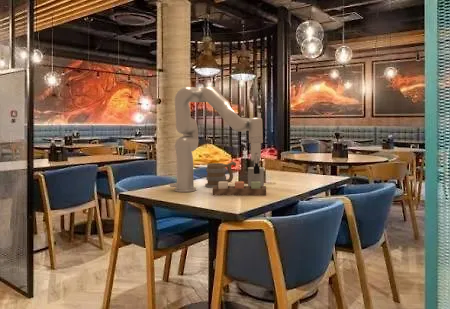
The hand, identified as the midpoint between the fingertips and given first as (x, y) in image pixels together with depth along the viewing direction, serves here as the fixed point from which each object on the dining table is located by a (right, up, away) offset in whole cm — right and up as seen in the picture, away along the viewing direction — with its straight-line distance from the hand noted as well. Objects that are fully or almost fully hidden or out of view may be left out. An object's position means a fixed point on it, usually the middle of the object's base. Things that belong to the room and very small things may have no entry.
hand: (256, 173), depth 225 cm
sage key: (0, -9, +1) cm, 9 cm away
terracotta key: (-9, -9, +2) cm, 13 cm away
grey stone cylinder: (+1, -10, +19) cm, 21 cm away
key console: (-9, -11, +2) cm, 15 cm away
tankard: (-19, -9, +29) cm, 36 cm away
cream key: (-18, -9, +2) cm, 21 cm away
